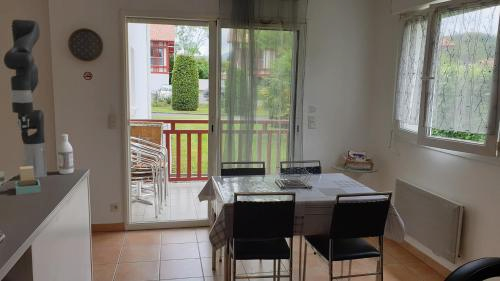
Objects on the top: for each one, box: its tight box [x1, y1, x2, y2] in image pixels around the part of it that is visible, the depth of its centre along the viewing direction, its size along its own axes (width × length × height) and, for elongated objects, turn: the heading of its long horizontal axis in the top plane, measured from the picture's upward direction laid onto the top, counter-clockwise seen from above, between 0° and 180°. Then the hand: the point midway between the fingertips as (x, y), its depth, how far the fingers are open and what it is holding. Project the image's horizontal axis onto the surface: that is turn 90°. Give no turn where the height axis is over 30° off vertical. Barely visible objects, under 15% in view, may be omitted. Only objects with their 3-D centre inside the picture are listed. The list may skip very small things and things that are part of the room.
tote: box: [14, 178, 42, 196], centre depth 167 cm, size 11×9×4 cm
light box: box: [19, 166, 34, 181], centre depth 166 cm, size 5×5×5 cm
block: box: [18, 176, 37, 187], centre depth 166 cm, size 6×6×5 cm
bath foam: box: [57, 133, 75, 175], centre depth 198 cm, size 7×7×20 cm
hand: (24, 139), depth 163 cm, fingers open, 8 cm apart
